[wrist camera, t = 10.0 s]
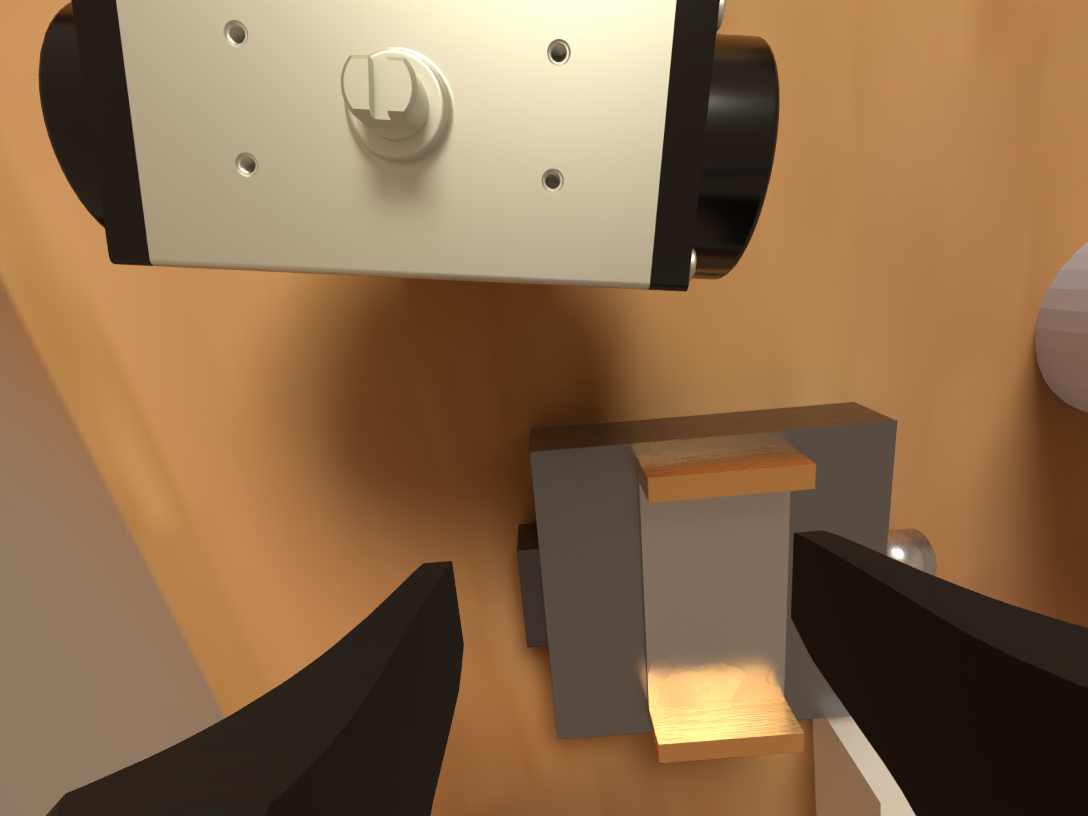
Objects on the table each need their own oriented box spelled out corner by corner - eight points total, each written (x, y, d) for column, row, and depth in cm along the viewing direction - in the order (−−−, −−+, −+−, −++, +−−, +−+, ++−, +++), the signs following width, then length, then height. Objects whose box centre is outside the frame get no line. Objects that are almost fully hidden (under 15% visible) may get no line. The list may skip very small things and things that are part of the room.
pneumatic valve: (646, 278, 19) (814, 301, 7) (305, 262, 19) (-67, 258, 7) (662, 102, 18) (900, -207, 6) (295, 81, 17) (-188, -283, 6)
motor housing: (908, 397, 20) (1004, 432, 16) (885, 663, 23) (961, 750, 19) (508, 431, 20) (502, 474, 16) (536, 691, 23) (536, 784, 19)
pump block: (892, 682, 24) (983, 790, 19) (891, 807, 25) (974, 935, 21) (810, 693, 24) (880, 803, 19) (815, 817, 26) (880, 947, 21)
